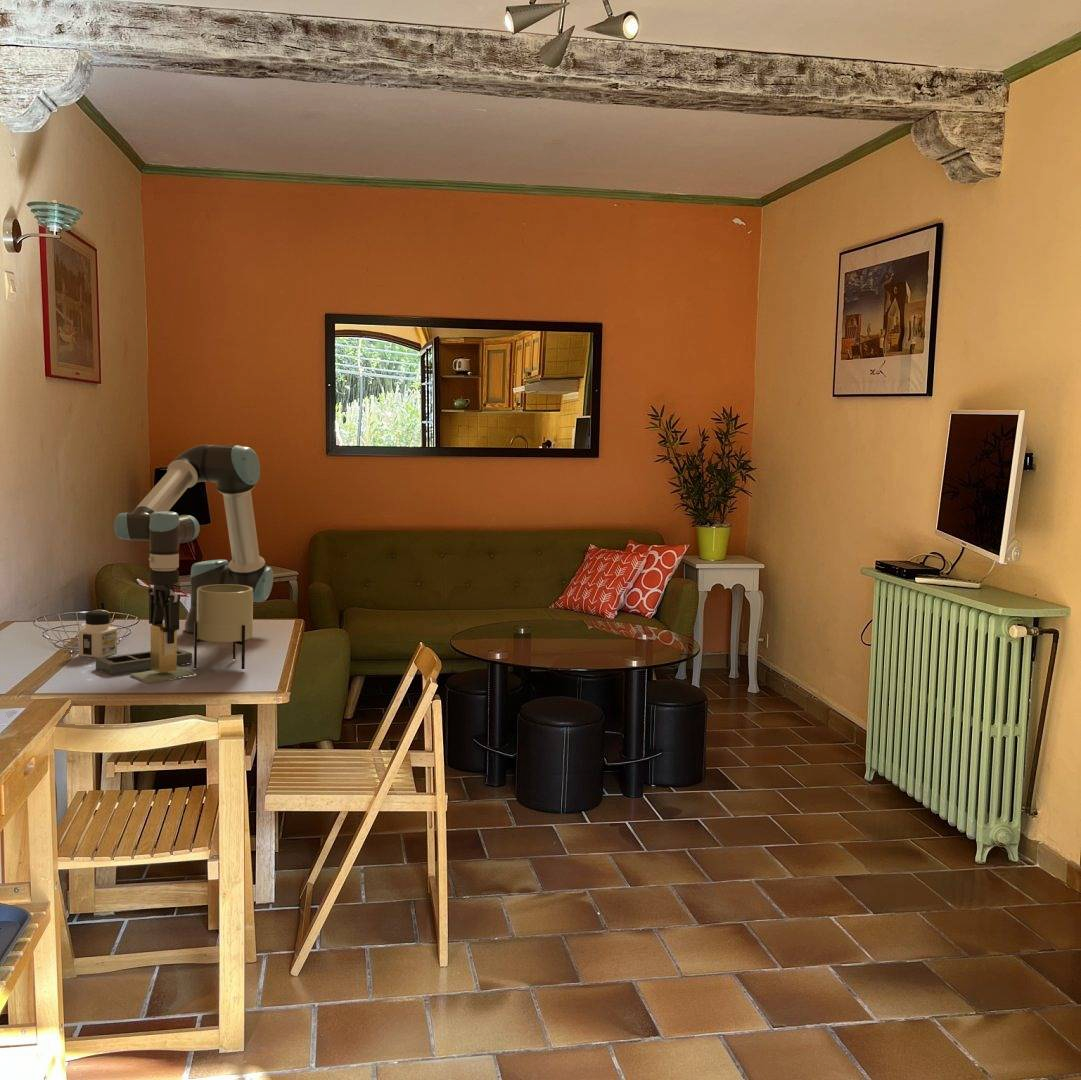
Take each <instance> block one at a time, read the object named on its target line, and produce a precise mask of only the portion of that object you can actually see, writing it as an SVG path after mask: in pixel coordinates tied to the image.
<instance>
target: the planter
mask: <svg viewBox="0 0 1081 1080" xmlns="http://www.w3.org/2000/svg"><path fill="white" fill-rule="evenodd" d="M253 606H254V602H253V588H252V587H249V586H245V585H236V584H215V585H206V586H201V587H199V588H197V622H194V633H193V636H194V637H193V638H194V639H193V641H194V642H193V643H194V644H193V645H194V646H193V651H194V652H193V669H194V668H197V665H198V662H197V661H198V659H197V656H198V643H203V642H204V643H205V642H209V643H232V660H233V659H236V654H237V652H236V648H237V645H241V669H245V665H246V663H245V661H246V660H245V659H246V656H245V655H246V640H249V639H251V638H252V637H253V628H254V627H253V622H254V621H253V620H254V619H253V617H254V616H253V615H254V613H253V611H254V607H253ZM236 644H237V645H236ZM197 669H198V668H197ZM245 670H246V669H245Z"/></svg>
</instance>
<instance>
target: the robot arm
mask: <svg viewBox="0 0 1081 1080" xmlns="http://www.w3.org/2000/svg"><path fill="white" fill-rule="evenodd" d="M260 471H261V464H260V459H259V456H258V454H257V453H256V452H255V450H254V449H253V448H251V447H248V446H242V445H237V444H236V445H224V444H222V445H220V444H207V443H205V444H199V445H196V446H193V447H191V448H188V449H186V450H185V451H183V452H182V453H180V454H179V455H177V456H176V457H175V458H174V459H172V461H171V462H170V463H169V464H168V465H167V469H166V473H165V474H164V475H163V476H162V477H161V479H160V480H159V481H158V482H157V483H156V484H155V485H154V486H153V488H152V489H151V490H150V491H149V492H148V493H147V494H146V495H145V496H144V498H143V499H142V500H141V501H140V502H139V504H138V505H137V506H136V507H135V508H134V509H133V511H132V512H129V511H128V512H121V513H118V514H117V515H116V516H115V519H114V523H113V530H114V534H115V536H116V538H118V539H121V540H128V541H142V542H144V541H145V542H149V557H148V561H149V567H150V570H149V571H148V573H149V576H148V577H149V578H148V580H149V581H148V582H149V583H150V584H152V585H153V587H150V588H148V589H147V592H148V623H149V624H150V625H151V626H152V625H156V624H164V623H165V630H163V632H164V656H166V655H173V654H174V632H175V631H176V630H177V631H179V630H180V602H181V601H180V600H181V594H179V593H178V594H176V593H175V592H176V591H175V585H176V584H178V583H179V580H180V575H179V574H180V573H179V572H180V571H179V569H178V568H179V567H180V553H179V552H180V550H179V549H180V544H184V543H190V542H191V541H194V540H195V539H196V538H197V537H198V536H199V533H200V530H201V528H200V527H201V526H200V524H199V523H200V522H199V521H198V520H197V518H195V517H194V516H192V515H190V514H189V515H188V514H181V515H179V513H178V512H175V511H170V510H171V509H172V507H174V505H175V504H176V503H177V501H178V500H179V499H180V498H181V497H182V496H183V494H184V493H185V492H186V491H187V489H188V488H189V489H190V488H192V487H194V486H195V485H196V484H197V483H200V482H201V483H202V482H206V483H215V484H216V491H217V492H218V493H220V494H222V498H223V503H224V511H225V517H226V525H227V531H228V539H229V546H230V552H231V560H230V561H228V560H227V559H211V560H205V561H203V560H202V561H199V562H194V563H193V564H192V565H191V567H190V568H191V569H190V576H189V577H190V607H189V610H188V613H187V616H186V619H185V622H184V631H185V632H187V633H190V634H194V622H197V588H199V587H201V586H206V585H215V584H236V585H245V586H249V587H252V588H253V603H256V602H257V603H262V602H265V601H267V599H268V598H269V597H270V594H271V592H272V589H273V584H274V578H275V577H274V569H272V567H270V566H267V565H266V560H265V559H264V557H263V556H261V555H260V550H259V542H258V535H257V527H256V518H255V513H254V505H253V497H252V496H253V495H252V490H253V489H254V488H256V484H258V482H259V480H260V476H261V472H260Z"/></svg>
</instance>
